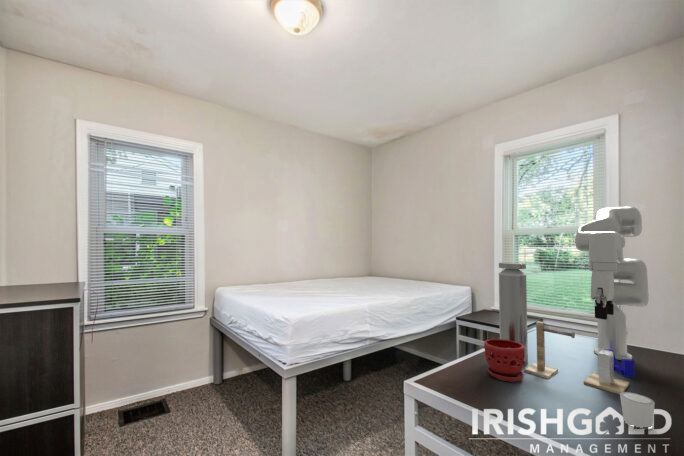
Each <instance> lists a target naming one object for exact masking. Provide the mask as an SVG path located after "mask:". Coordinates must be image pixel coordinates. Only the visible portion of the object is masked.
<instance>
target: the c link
mask: <svg viewBox="0 0 684 456" xmlns="http://www.w3.org/2000/svg"><path fill="white" fill-rule="evenodd" d="M597 366H598V369H597V371H598V373H597V374H599V383H602V384H605V385H609V386H610V385H611V382H614V378H615V370H614V361H613V352H612V351H608V350H603V349H602V350H601V351H600V352H599V353H598V354H597Z"/></svg>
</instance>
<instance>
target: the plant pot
mask: <svg viewBox="0 0 684 456" xmlns="http://www.w3.org/2000/svg"><path fill="white" fill-rule="evenodd" d="M483 343H484V344H483V347H484V356H485V360H486V363H487V365H488V367H487V372H488V374H490V376H492V377H493V378H495V379H497V380H500V381H505V382H519V381H521V380H522V379H523V378H524V376H525V375H524V373H523V369H524V358H525V349H524V345H522V344H521V343H518V342H515V341H511V340H504V339H500V338H490V339H489V338H488V339H485V341H484V342H483ZM508 347H510V348H508Z"/></svg>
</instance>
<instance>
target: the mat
mask: <svg viewBox="0 0 684 456" xmlns="http://www.w3.org/2000/svg"><path fill="white" fill-rule="evenodd" d="M583 385H586V386H589V387H593V388H597V389H600V390H603V391H606V392H610V393H613V394H617V395H620V393H622V392H626V390H627V388H628V387H629V386H630V382H629V381H627V380H623V379H620V378H615V377H614V382H611V385H610V386H609V385H605V384H602V383H599V374H598V373H597V372H592V373H591V374H590V375H588V376H587V378H586V379H584V381H583Z"/></svg>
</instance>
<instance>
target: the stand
mask: <svg viewBox="0 0 684 456" xmlns="http://www.w3.org/2000/svg"><path fill="white" fill-rule="evenodd" d="M535 323H536V362H534V363H532V364H530V365H527V367H525V368H523V369H524V370H523V371H524V373H527V374H531V375H534V376H537V377H540V378H544V379H547V380H549V379H551V378H552V377H553V376H554V375H556V374H557V373H558V372H559V369H558V368H556V367H552V366H548V365H546V350H545V348H546V346H545V343H546V342H545V332H547V333H552V334H557V335H562V336H567V337H571V339H575V336H576V333H575V332H574V331H572V332H568V331H567V332H566V331H561V330H558V329H551V328H545V322H544V321H539V320H537V321H536V322H535Z"/></svg>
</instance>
